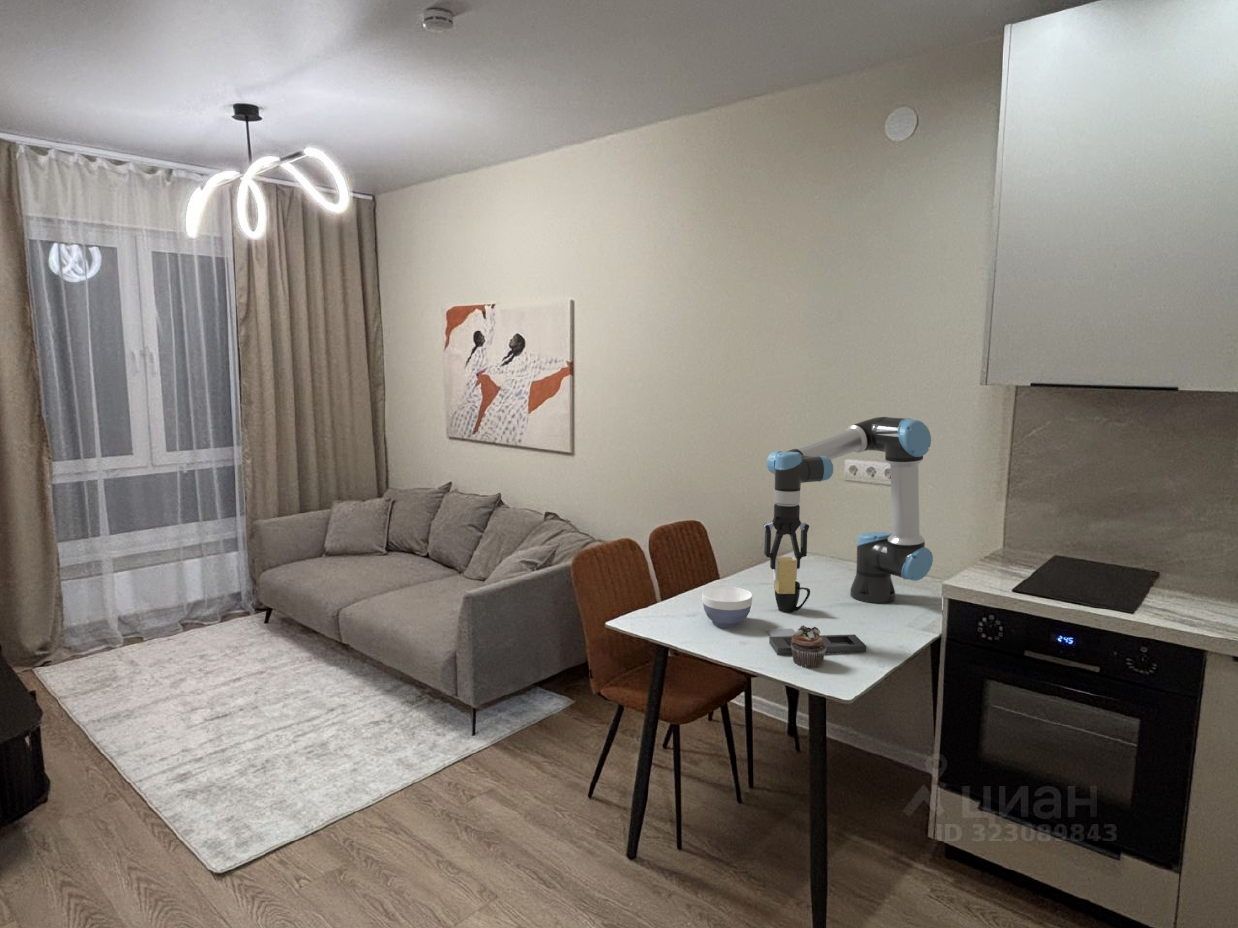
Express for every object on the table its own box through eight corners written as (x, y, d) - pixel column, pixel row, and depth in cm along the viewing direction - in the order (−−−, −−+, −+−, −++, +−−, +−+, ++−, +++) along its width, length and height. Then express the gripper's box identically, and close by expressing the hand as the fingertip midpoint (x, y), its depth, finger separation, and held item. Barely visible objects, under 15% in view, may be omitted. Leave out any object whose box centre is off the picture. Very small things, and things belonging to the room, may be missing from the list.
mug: (803, 618, 246) (804, 590, 244) (769, 610, 253) (770, 583, 252) (813, 611, 252) (814, 584, 251) (781, 604, 259) (781, 577, 258)
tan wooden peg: (790, 588, 231) (791, 556, 230) (794, 593, 226) (795, 561, 225) (774, 588, 231) (774, 557, 229) (778, 593, 226) (779, 561, 224)
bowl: (755, 617, 247) (756, 589, 246) (747, 633, 232) (747, 604, 231) (707, 612, 252) (708, 584, 251) (696, 628, 237) (697, 598, 236)
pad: (792, 630, 235) (792, 628, 235) (800, 639, 227) (800, 637, 227) (767, 630, 234) (767, 629, 234) (774, 640, 226) (774, 638, 226)
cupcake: (787, 666, 207) (788, 631, 206) (793, 653, 216) (794, 620, 215) (823, 671, 204) (824, 636, 203) (827, 658, 213) (828, 624, 212)
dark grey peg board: (854, 640, 226) (854, 634, 226) (866, 652, 217) (866, 645, 217) (769, 643, 224) (769, 636, 224) (777, 654, 215) (777, 648, 215)
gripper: (812, 501, 229) (809, 575, 232) (754, 501, 228) (752, 576, 231) (820, 505, 222) (817, 582, 225) (760, 506, 221) (758, 583, 224)
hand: (784, 579), depth 228 cm, fingers closed on tan wooden peg, 5 cm apart
